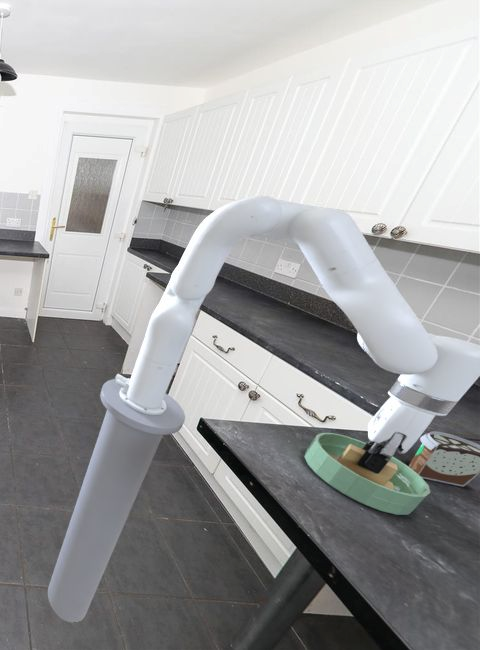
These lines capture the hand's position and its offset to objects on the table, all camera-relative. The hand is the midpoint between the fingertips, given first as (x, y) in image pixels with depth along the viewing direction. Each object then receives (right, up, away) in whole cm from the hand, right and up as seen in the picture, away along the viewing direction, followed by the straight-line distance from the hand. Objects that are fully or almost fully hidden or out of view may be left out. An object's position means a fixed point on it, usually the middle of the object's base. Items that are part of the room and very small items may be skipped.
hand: (367, 464), depth 72 cm
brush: (-1, -5, +2) cm, 5 cm away
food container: (+24, -6, +8) cm, 26 cm away
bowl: (0, -5, +3) cm, 6 cm away
